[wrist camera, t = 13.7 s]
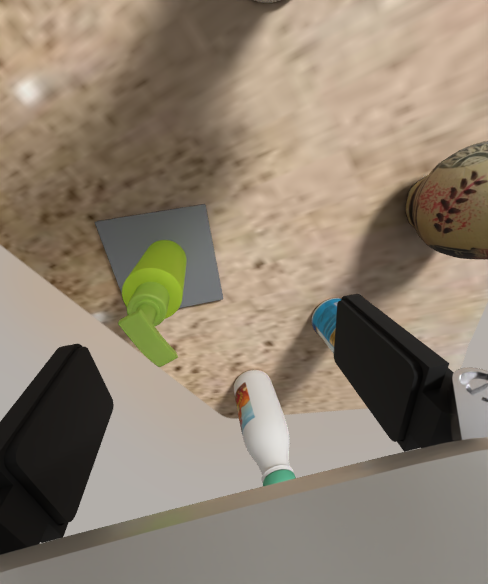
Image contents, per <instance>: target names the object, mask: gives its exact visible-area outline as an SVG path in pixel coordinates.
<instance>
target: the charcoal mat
mask: <svg viewBox="0 0 488 584" xmlns="http://www.w3.org/2000/svg"><path fill="white" fill-rule="evenodd" d="M95 225H96V227H97V230H98V233H99V235H100V238H101V241H102V243H103V246H104V248H105V251H106V254H107V256H108V259H109V262H110V264H111V267H112V270H113V272H114V275H115V277H116V280H117V283H118V285H119V288H120V291H121V293H122V287H123V284H124V282H125V280H126V279H127V277H128V276H129V275H130V273H131V272H132V270H133V269H134V268H135V266H136V265H137V263H138V262H139V260H140V259H141V258H142V256H143V255H144V253H145V252H146V251H147V249H148V248H149V246H150V245H152V244H153V243H154V242H156V241H160V240H169V241H173V242H175V243H177V244H178V245H179V246H180V247H181V248H182V249H183V250H184V252H185V254H186V260H187V261H186V271H185V279H184V288H183V297H182V302H181V305H180V307H179V308H182V307H187V306H192V305H197V304H202V303H207V302H212V301H217V300H222V299H223V294H222V289H221V284H220V279H219V273H218V268H217V263H216V258H215V252H214V247H213V242H212V237H211V232H210V226H209V221H208V216H207V211H206V205H205V204H202V205H195V206H189V207H183V208H177V209H170V210H164V211H158V212H152V213H145V214H139V215H133V216H126V217H120V218H114V219H108V220H101V221H96V222H95Z"/></svg>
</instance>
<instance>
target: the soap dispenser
mask: <svg viewBox="0 0 488 584" xmlns="http://www.w3.org/2000/svg"><path fill="white" fill-rule="evenodd" d="M186 261H187V260H186V254H185V252H184V250H183V249H182V248H181V247H180V246H179V245H178V244H177V243H175V242H173V241H169V240H160V241H156V242H154V243H153V244H152V245H150V246H149V248H148V249H147V251H146V252H145V253H144V255H143V256H142V258H141V259H140V260H139V262H138V263H137V265H136V266H135V268H134V269H133V270H132V272H131V273H130V275H129V276H128V277H127V279H126V280H125V282H124V284H123V287H122V298H123V301H124V303H125V305H126V307H127V314H128V316H126V317H124V318H122V319H121V320H119V322H118V324H119V326H120V327H121V328H122V329H123V331H124V332H125V333H126V334H127V336H128V337H129V338H130V339H131V341H132V342H133V343H134V344H135V345H136V347H137V348H138V349H139V350H140V351H141V352H142V353H143V354H144V355H145V356H146V357H147V358H148V359H149V360H150V361H152V362H153V363H154V364H155V365H157V366H158V367H161V366H163V365H165V364H167V363H169V362H171V361H173V360H174V359H176V358H178V356H177V353H176V351H175V350H174V349H173V348H172V347H171V346H170V345H169V344H168V343H167V342H166V341H165V340H164V338H163V337H162V336H161V335H160V333H159V332H158V331H157V329H156V328H155V327H154V326H157V325H159V324H160V323H161V322H162V321H163V320H164V319H165V318H168V317H170V316H171V315H173V314H174V313H175V312H176V311H177V310H178V309H179V307H180V305H181V302H182V297H183V288H184V279H185V271H186Z"/></svg>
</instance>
